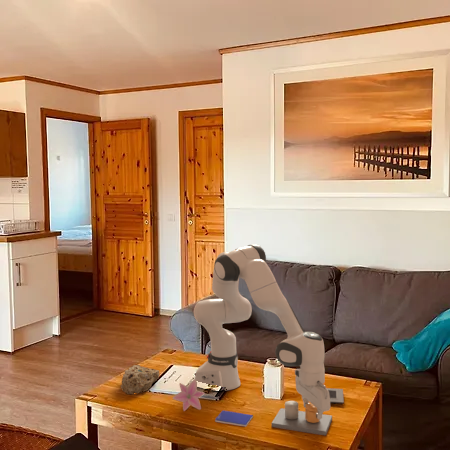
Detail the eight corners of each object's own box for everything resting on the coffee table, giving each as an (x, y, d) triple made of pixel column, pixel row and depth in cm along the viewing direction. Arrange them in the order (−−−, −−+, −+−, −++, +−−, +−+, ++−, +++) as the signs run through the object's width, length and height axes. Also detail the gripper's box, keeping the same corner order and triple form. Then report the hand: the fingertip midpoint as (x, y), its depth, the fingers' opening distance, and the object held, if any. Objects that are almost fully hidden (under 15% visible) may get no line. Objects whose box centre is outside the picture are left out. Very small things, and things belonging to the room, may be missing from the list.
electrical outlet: (343, 407, 210) (343, 401, 210) (316, 405, 212) (316, 399, 212) (342, 393, 223) (342, 388, 222) (317, 392, 225) (317, 387, 224)
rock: (130, 378, 246) (135, 358, 246) (159, 387, 243) (164, 366, 243) (113, 391, 226) (118, 369, 226) (144, 401, 223) (150, 379, 223)
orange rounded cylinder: (304, 420, 194) (304, 407, 193) (308, 414, 198) (308, 402, 197) (317, 423, 191) (317, 410, 191) (321, 417, 196) (321, 405, 195)
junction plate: (271, 426, 194) (271, 408, 193) (280, 411, 206) (280, 394, 205) (325, 435, 187) (325, 416, 186) (332, 419, 199) (332, 401, 198)
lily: (168, 411, 211) (172, 395, 206) (177, 389, 221) (181, 374, 216) (196, 421, 210) (201, 405, 205) (204, 399, 220) (209, 383, 215)
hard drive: (215, 418, 199) (245, 424, 194) (222, 409, 207) (252, 414, 202) (215, 422, 199) (246, 428, 195) (223, 413, 207) (252, 418, 202)
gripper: (334, 385, 184) (334, 423, 186) (307, 366, 204) (307, 400, 205) (318, 388, 182) (319, 426, 184) (292, 368, 202) (292, 403, 203)
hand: (312, 412), depth 194 cm, fingers open, 8 cm apart
